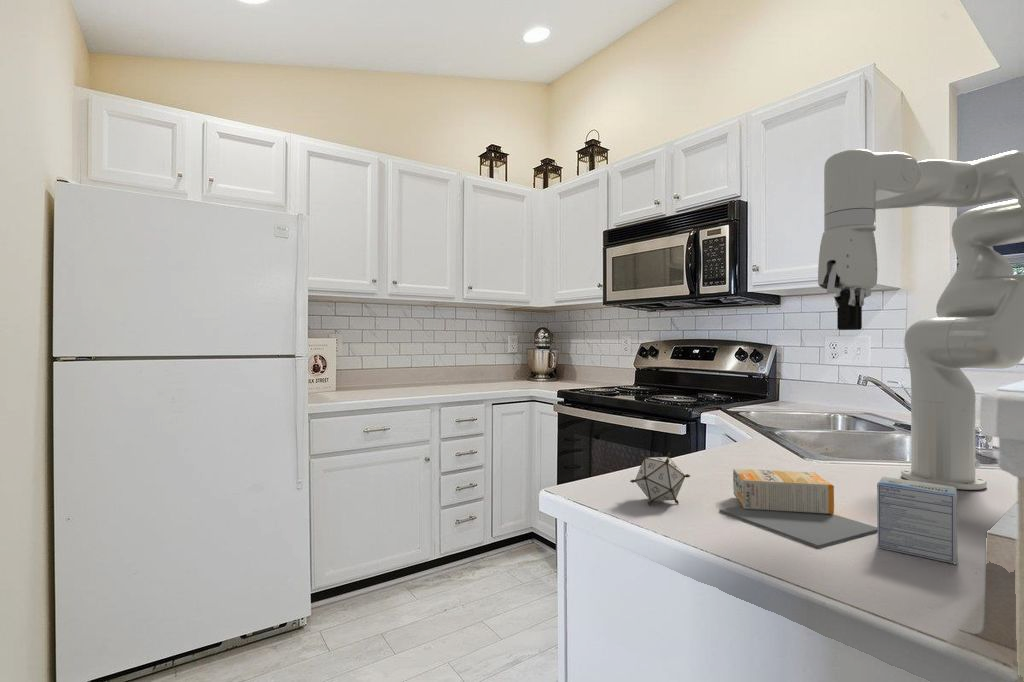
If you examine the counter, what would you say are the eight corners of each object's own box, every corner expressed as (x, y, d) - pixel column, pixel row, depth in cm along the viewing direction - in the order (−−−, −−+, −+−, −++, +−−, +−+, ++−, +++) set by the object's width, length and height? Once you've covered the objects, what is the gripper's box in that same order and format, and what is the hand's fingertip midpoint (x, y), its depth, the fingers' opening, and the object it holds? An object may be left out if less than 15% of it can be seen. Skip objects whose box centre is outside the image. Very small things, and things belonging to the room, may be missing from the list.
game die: (647, 524, 86) (611, 473, 88) (674, 497, 91) (639, 450, 93) (683, 512, 79) (642, 457, 81) (710, 483, 84) (671, 432, 86)
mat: (778, 500, 87) (778, 497, 87) (880, 531, 73) (880, 528, 73) (719, 511, 81) (719, 509, 81) (818, 548, 67) (818, 545, 67)
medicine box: (957, 555, 65) (957, 486, 65) (956, 566, 62) (956, 494, 62) (881, 539, 70) (881, 475, 70) (876, 548, 67) (876, 482, 67)
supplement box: (835, 483, 78) (742, 479, 81) (835, 515, 78) (743, 510, 81) (815, 470, 86) (731, 467, 89) (815, 499, 86) (732, 495, 89)
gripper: (853, 232, 96) (853, 330, 96) (801, 224, 90) (801, 329, 90) (897, 224, 90) (897, 329, 89) (845, 215, 83) (845, 328, 83)
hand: (849, 329), depth 90 cm, fingers closed
